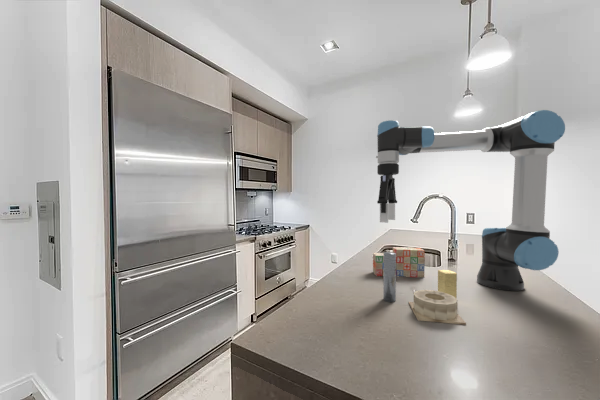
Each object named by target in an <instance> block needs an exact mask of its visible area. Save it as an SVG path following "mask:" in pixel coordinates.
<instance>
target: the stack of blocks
mask: <svg viewBox="0 0 600 400" xmlns="http://www.w3.org/2000/svg"><path fill="white" fill-rule="evenodd" d="M392 252H393V253H396V276H406V277H405V278H423V277H424V278H425V268H426V267H425V264H426V257H425V254H426V253H425V250H424V249H423V248H420V247H412V246H410V247H409V246H406V247H404V246H403V247H401V246H400V247H399V246H396V247H395V246H393V247H392ZM373 272H374V273H373ZM372 273H373V274H374V276H375V275H377V276H376V277H384V252H373V254H372Z"/></svg>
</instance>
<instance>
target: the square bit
mask: <svg viewBox="0 0 600 400" xmlns="http://www.w3.org/2000/svg"><path fill="white" fill-rule="evenodd" d="M457 279H458V278H457V272H455V271H452V270H450V269H437V291H439V292H444V293H447V294H449V295H452V296H454V297H455V298H456V299H457V295H458V294H457V293H458V292H457V289H458V288H457V286H458V285H457V282H458V281H457ZM457 300H458V299H457Z"/></svg>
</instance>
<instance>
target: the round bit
mask: <svg viewBox="0 0 600 400" xmlns="http://www.w3.org/2000/svg"><path fill="white" fill-rule="evenodd" d="M383 253H384V276H383V283H382V284H383V291H382V292H383V295H382V297H383V301H384V302H387V303H395V302H397V301H396V299H397V297H396V296H397V292H396V291H397V277H396V253H393V251H392V252H391V251H384V252H383Z"/></svg>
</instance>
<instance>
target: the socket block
mask: <svg viewBox="0 0 600 400" xmlns="http://www.w3.org/2000/svg"><path fill="white" fill-rule="evenodd" d="M408 304H409V306H410V309H411V310H412V312H413V314H414V316H415V318H416V319H417V321H419V322H420V321H421V322H432V323H441V324H442V323H443V324H453V325H463V326H467V322H466V321H465V320H464V319H463V318H462V316H460V315H459V313H458V299H456V298H455V297H454V296H452V295H449V294H447V293H444V292H439V291H438V290H433V289H431V290H430V289H419V290H416V291H415V292H413V301H408Z"/></svg>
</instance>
